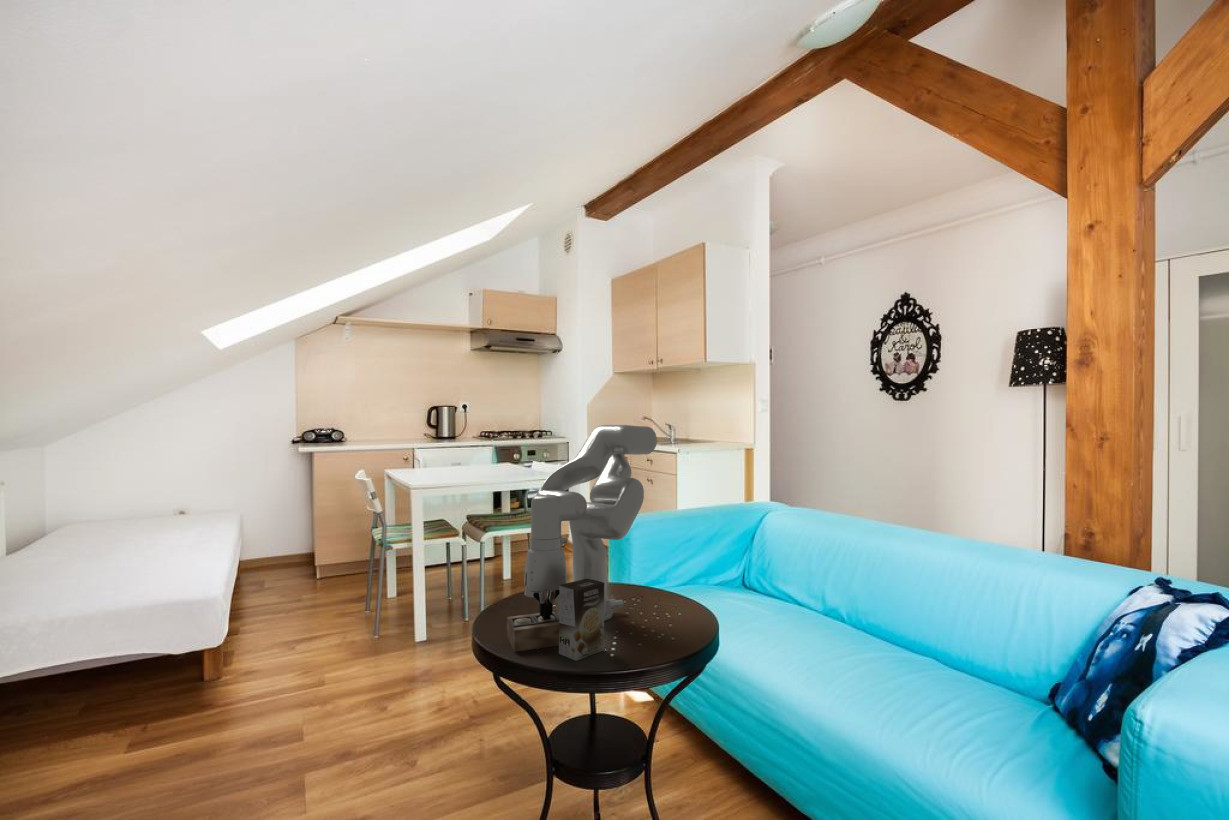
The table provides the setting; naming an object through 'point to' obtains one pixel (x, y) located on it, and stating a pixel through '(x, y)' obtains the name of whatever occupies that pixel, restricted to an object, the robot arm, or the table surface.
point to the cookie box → (581, 618)
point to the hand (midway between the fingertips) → (545, 617)
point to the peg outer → (522, 621)
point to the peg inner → (546, 619)
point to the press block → (532, 632)
